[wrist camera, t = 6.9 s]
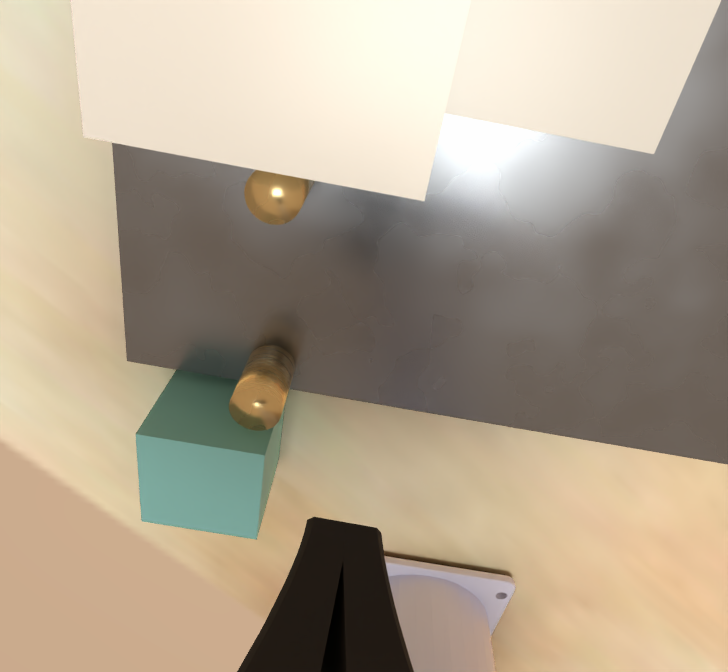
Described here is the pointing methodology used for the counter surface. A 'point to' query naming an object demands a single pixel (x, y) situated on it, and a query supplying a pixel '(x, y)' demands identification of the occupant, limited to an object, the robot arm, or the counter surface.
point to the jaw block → (204, 460)
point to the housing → (376, 77)
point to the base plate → (456, 279)
